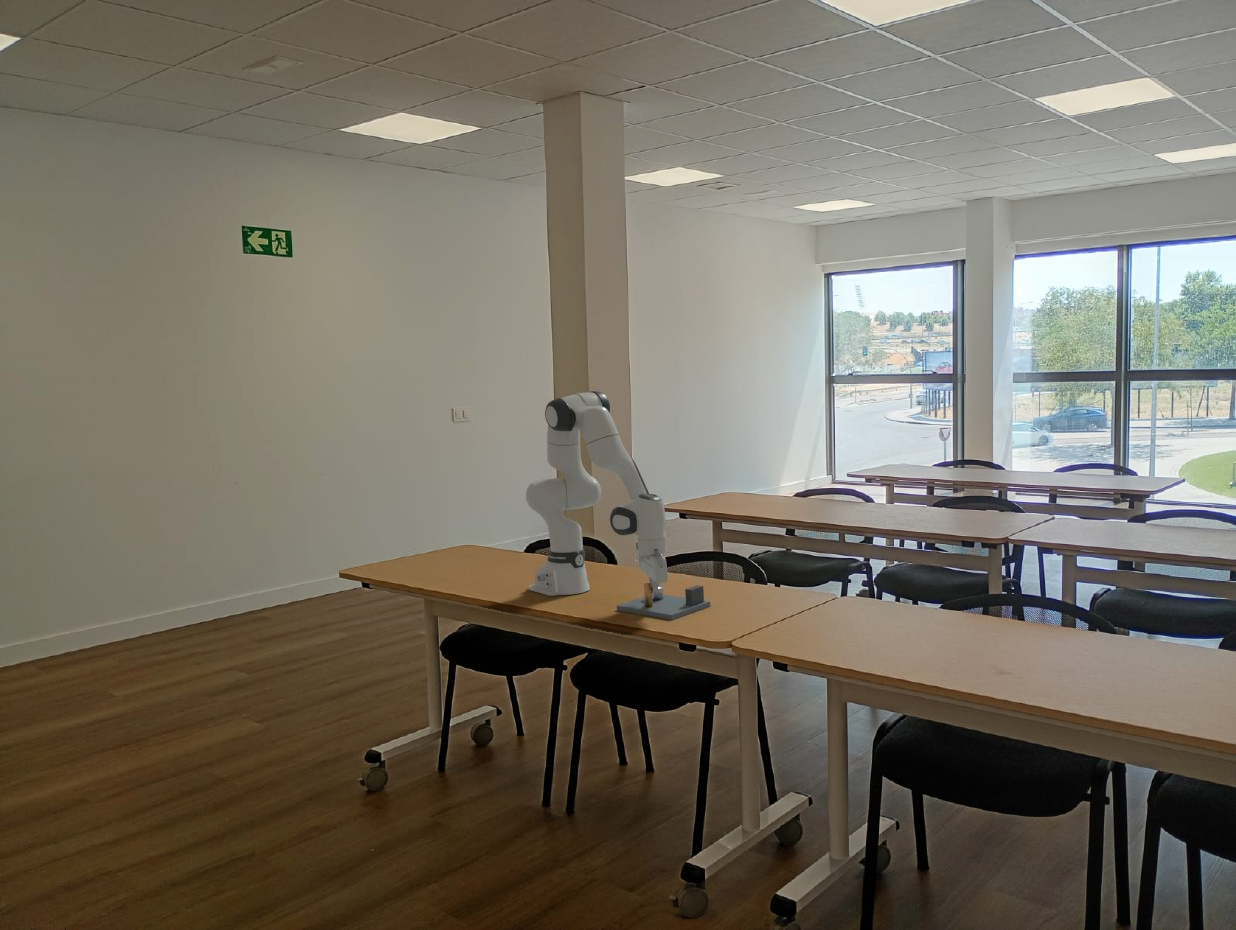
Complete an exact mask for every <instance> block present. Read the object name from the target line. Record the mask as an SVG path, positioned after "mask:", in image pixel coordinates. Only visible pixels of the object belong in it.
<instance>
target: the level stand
mask: <svg viewBox="0 0 1236 930" xmlns="http://www.w3.org/2000/svg"><path fill="white" fill-rule="evenodd" d="M704 594H705V593H704V586H703V585H698V584H697V585H694V586H691V587H687V588H685V597H684V596H675V595H670V594H665V593H663V596H664V598H663V599H661V600H653V606H652V607H645V596H642V597H639V598H636V599H634V600H633V599H632V600H629V601H627V602H623V603H621V604H620V603H619V604H617V605H616V611H620V612H625V613H632V614H637V615H642V616H648V617H653V618H658V619H663V620H664V619H665V620H669V621H670V620H671V621H673V620H676V619H678V618H682V617H684V616H687V615H690V614H692V613H696V612H699V611H701V610H705V609H707V608H710V607H711V601H709V600H705V595H704Z"/></svg>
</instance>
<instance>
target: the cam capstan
mask: <svg viewBox="0 0 1236 930" xmlns="http://www.w3.org/2000/svg"><path fill="white" fill-rule="evenodd" d="M643 592H644V597H645V607H652V606H653V600H661V599H663V598H664V596H663V594H664V586H662V585H659V586H658V592H652V583H650V582H644V583H643Z"/></svg>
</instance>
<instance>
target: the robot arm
mask: <svg viewBox="0 0 1236 930" xmlns="http://www.w3.org/2000/svg"><path fill="white" fill-rule="evenodd" d="M544 412H545V413H544V414H545V415H544V416H545V421H546V423H547V434H546V435H547V437H546V438H547V440H546V447H547V448H546V451H547V452H546V453H547V454H546V456H547V458H546V459H547V462H548V464H549V465H550V466H551V467H552V468H553V469H554V470H557V471H560V472H561V473H564V477H555V478H542V479H540V480H536V481H531V482H530V484H529V485H528V486H527V488H526V491H525V498H526V499H525V500H526V502H527V504H528V507H529V508H530V509H532V510H533V511H534V512H536V513H537V514H539V516H540V517H541V518H542V519H543V520H544V522H545V524H546V526H547V530H548V535H549V543H550V550H549V551H546V552H545V555H544V556H545V557H546V556H547V561H546V562H545V563H544V564H542V566H541V567H539V568H538V569H537V570H536V571H535V573H534V582H533V583H532V584H530V585H529V586H528V587H527V590H528V591H531V592H536V593H539V594H541V595H545V596H549V597H553V596H565V595H566V596H568V595H577V594H581V593H582V594H583V593H586V592H587V591H590V589H591V587H590V582H589V581H588V575H587V569H586V564H585V559H586V556H585V555H586V553H585V549H584V547H583V545H584V544H583V528H582V526H581V525H580V524H579V523H578V522H577V521H575V520H572V519H570V518H567V517H566V516H565V515H564V511H567V510H568V511H569V510H579V509H587V508H589V507H593V506H596V505H597V504H598V503H599V501H600V500H601V497H602V488H601V485H600V482H599V481H598V480H597V479H596V478H595V477H593V476H592V475H590V474H589V472H587V471H586V469H585V467H584V465H583V462H582V457H581V456H582V454H581V452H582V451H581V434H582V437H583V438H582V439H583V441H584V444H585V448H586V451H587V454H588V457H589V459H590V461H591V462H592V463H593V464H594V465H595V466H596V467H598V468H600V469H602V470H605V471H607V472H608V471H609V472H611V473H613V474H615V475H617V476H618V477H619V478H620V480H621V481H622V482H623V485H624V486H625V489H626V492H627V493H628V496H629V498H630V500H631V501H629V502H627V503H624V504H621V505H619V506H618V505H617V506H615V507H614V508H613V509H612V510H611V512H610V516H609V524H610V527H611V529H612V531H613V532H614V533H616V534H617V536H618V535H619V536H624V537H625V536H627V537H628V536H631V535H636V536H637V541H636V543H635V549H636V550H637V554H638V556H637V557H638V562H639V567H640V571H641V572H642V573H643V574H644V575H646V576H647V577H648V583H652V592H658V586H660V584H662V583H663V584H664V583H667V582H668V578H669V577H668V566H667V560H666V557H665V556H664V554H666V553H667V552H668V545H667V543H668V542H667V534H666V528H665V527H666V524H667V523H666V511H665V510H666V509H665V505H664V501H663V499H662V498H661V496H659V495H657V494H653V493H650V492H649V490H648V488H647V485H646V484H645V483H646V482H645V480H644V479H643V476H642V474H641V472H640V470H639V468H638V466H637V464H636V462H635V460H634V458H633V457H632V456H631V455H630V454H629V453H628V451H627V449H626V448H625V446H624V444H623V442H622V439H621V436H620V434H619V430H618V428H617V426H616V423H615V421H614V419H613V417H612V415H611V413H610V412H611V404H610V401H609V399H608V396H607V395H606V394H605V393H603V392H601V391H594V390H593V391H592V390H591V391H588V392H578V393H573V394H570V395H567V396H564V397H561V398H560V397H557V398H555V399H553V400H550V401H549V402H548V403H547V404H546V408H545V411H544Z"/></svg>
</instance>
